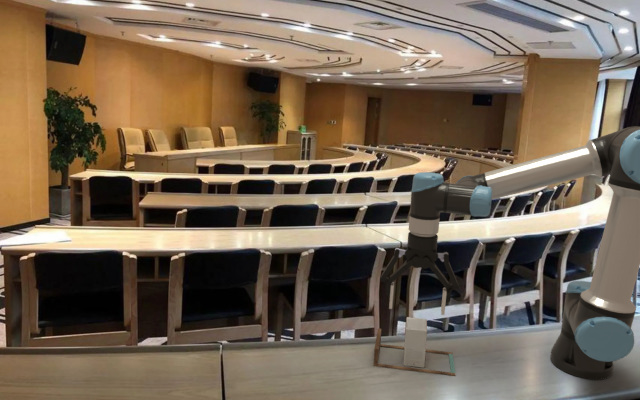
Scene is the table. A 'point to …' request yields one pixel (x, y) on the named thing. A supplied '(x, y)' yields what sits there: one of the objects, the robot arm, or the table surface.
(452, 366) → the bay
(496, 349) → the table surface
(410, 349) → the small box
